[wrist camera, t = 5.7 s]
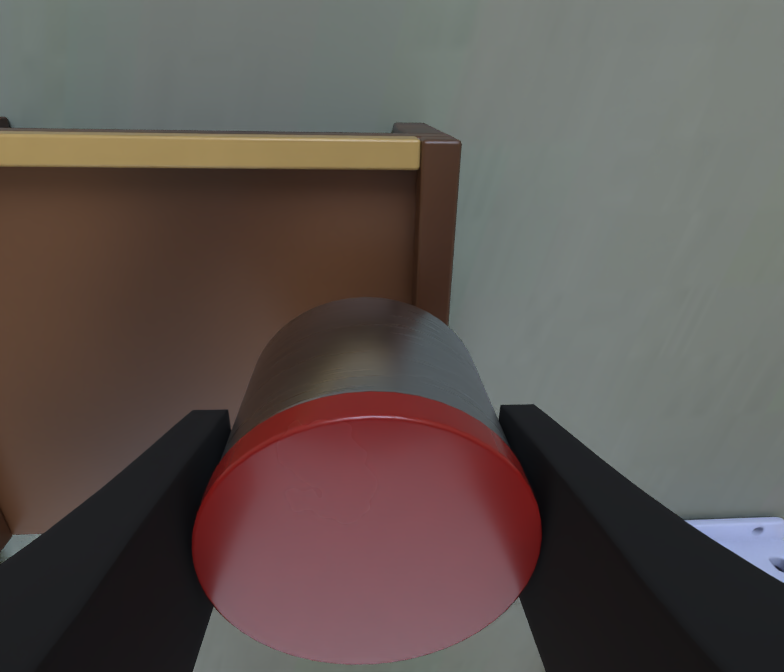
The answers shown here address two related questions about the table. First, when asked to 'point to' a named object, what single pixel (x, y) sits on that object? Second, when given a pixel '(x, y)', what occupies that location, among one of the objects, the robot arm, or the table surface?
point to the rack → (186, 278)
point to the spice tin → (365, 493)
